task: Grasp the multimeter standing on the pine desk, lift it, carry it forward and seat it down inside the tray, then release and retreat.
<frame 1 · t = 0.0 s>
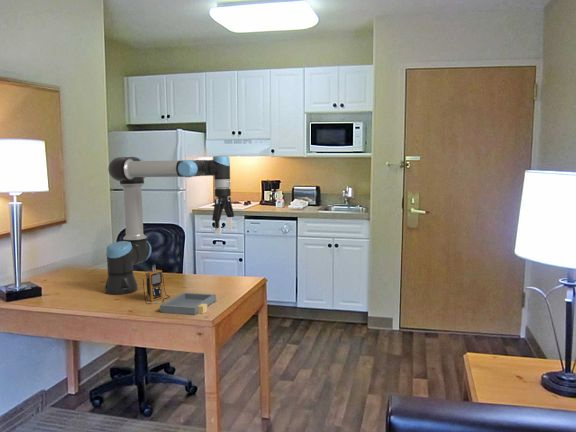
hand: (223, 232, 246), 28 cm above the table, fingers open, 13 cm apart
tray: (189, 306, 221), on the table
multimeter: (161, 300, 231), on the table
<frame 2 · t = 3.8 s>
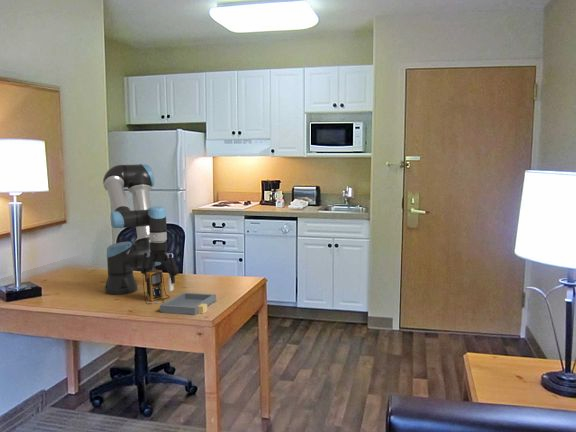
hand: (160, 289, 231), 5 cm above the table, fingers open, 10 cm apart
multimeter: (161, 301, 231), on the table, touching gripper
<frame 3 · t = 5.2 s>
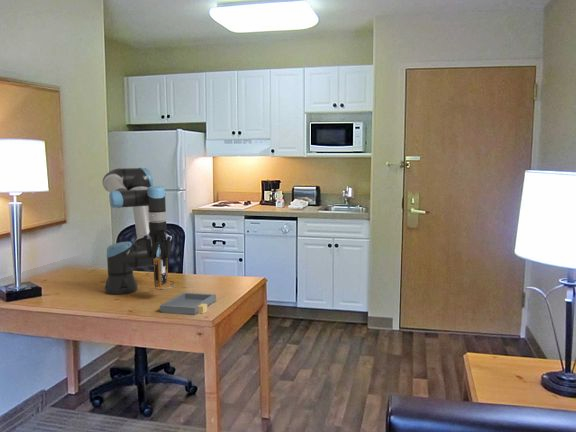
hand: (159, 272, 230), 13 cm above the table, fingers closed on multimeter, 3 cm apart
multimeter: (168, 286, 232), point 6 cm above the table, touching gripper
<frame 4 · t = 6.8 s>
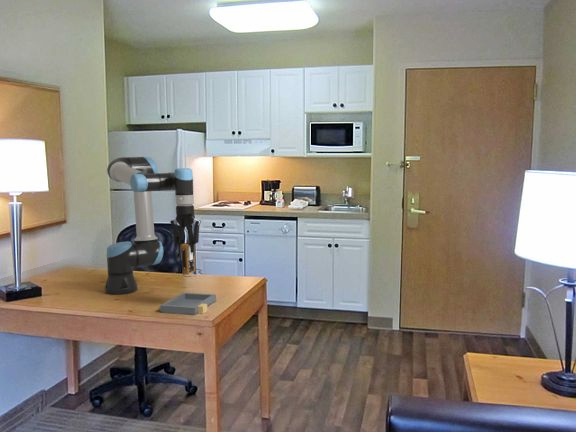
hand: (187, 259, 219), 21 cm above the table, fingers closed on multimeter, 3 cm apart
multimeter: (196, 274, 220), point 14 cm above the table, touching gripper
when the fingers open (9 cm above the table, at t = 8.8 s): multimeter stays where it is, resting on tray.
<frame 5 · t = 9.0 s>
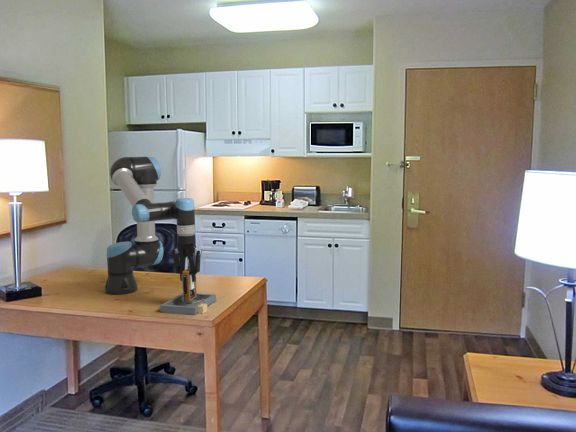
hand: (188, 288, 220), 8 cm above the table, fingers open, 3 cm apart
multimeter: (198, 300, 221), point 3 cm above the table, touching gripper, tray
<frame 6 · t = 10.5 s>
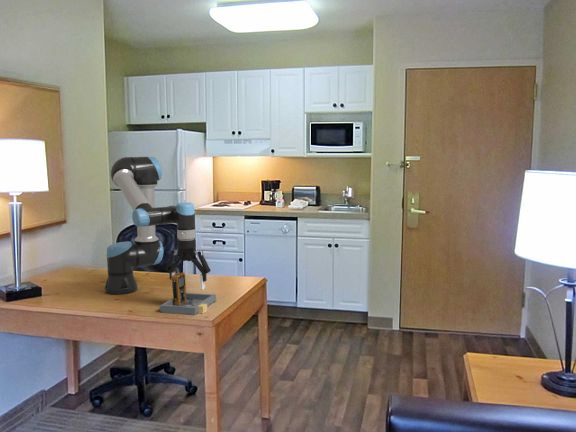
hand: (188, 288, 220), 8 cm above the table, fingers open, 13 cm apart
multimeter: (187, 304, 223), point 1 cm above the table, touching gripper, tray
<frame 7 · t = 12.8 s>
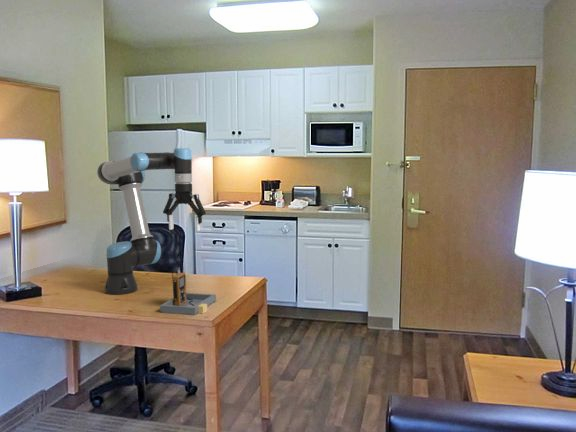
hand: (184, 230, 232), 31 cm above the table, fingers open, 13 cm apart
multimeter: (187, 304, 223), resting on tray
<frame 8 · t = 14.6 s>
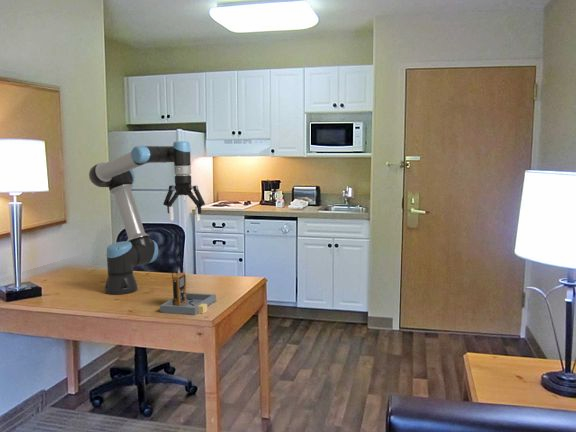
hand: (184, 220, 239), 35 cm above the table, fingers open, 13 cm apart
nothing on the table moved.
at the end: multimeter inside the target area on the tray (2.0 cm from its centre), point 0.4 cm above the tray's base; multimeter tilted 0°; the gripper is holding nothing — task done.
